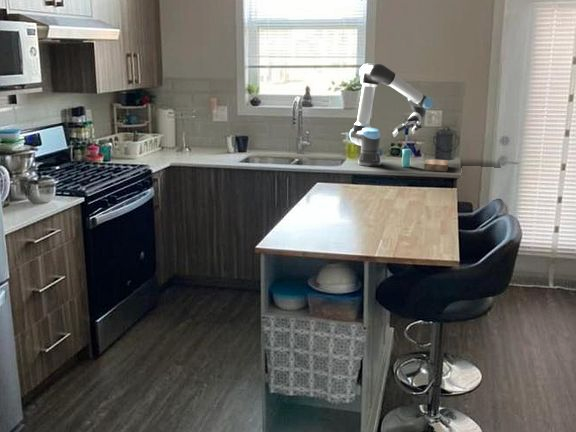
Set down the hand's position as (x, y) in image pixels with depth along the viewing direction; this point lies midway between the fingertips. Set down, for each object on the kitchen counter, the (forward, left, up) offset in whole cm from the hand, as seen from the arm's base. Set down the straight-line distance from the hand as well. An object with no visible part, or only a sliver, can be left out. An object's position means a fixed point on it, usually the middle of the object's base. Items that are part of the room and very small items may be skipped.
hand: (403, 133), depth 417 cm
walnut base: (+23, -11, -20) cm, 32 cm away
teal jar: (+4, -11, -20) cm, 23 cm away
